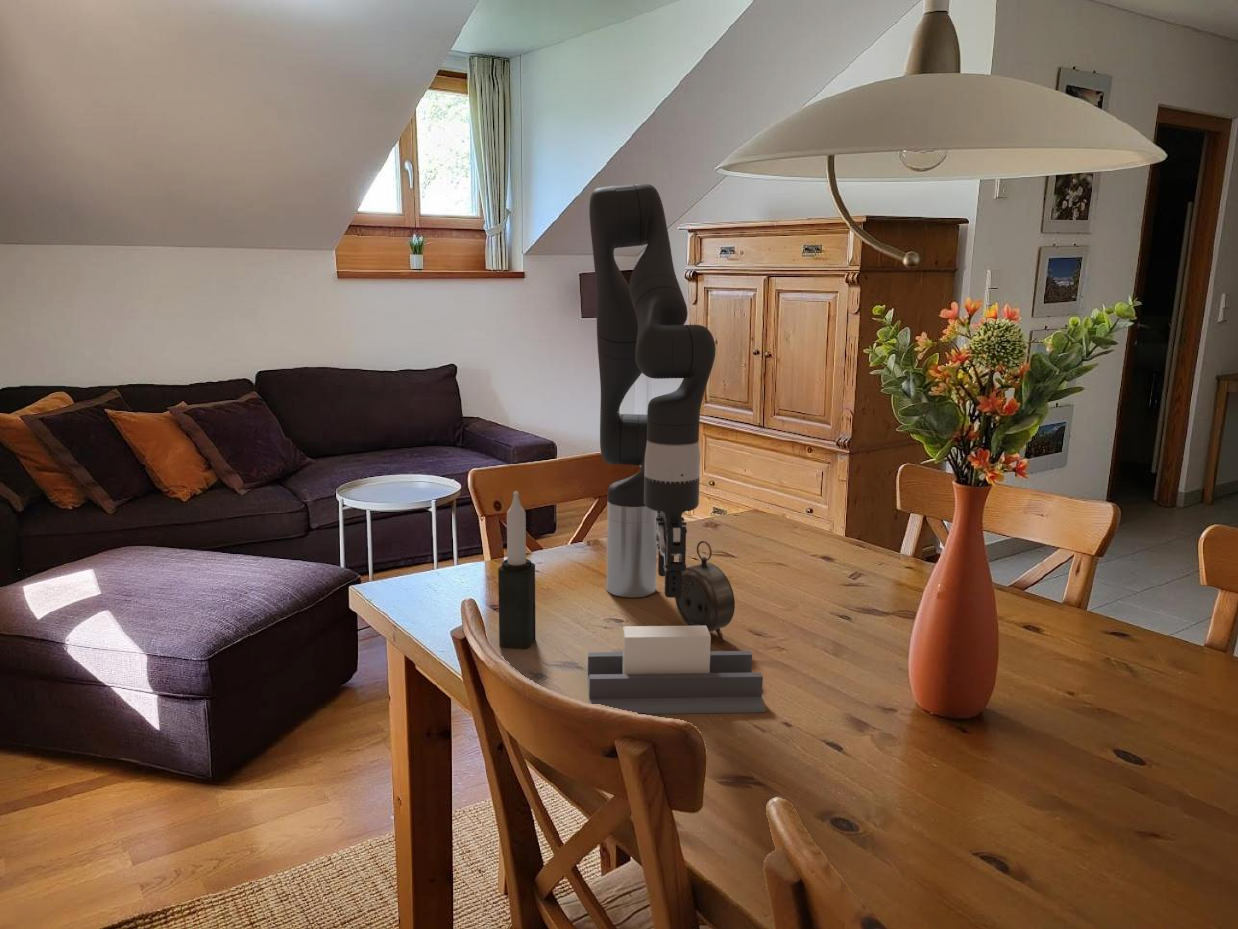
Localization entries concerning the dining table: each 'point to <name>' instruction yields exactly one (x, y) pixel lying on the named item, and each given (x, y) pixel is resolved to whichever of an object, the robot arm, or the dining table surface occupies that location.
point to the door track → (678, 686)
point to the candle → (516, 584)
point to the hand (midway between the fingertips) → (669, 585)
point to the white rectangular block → (666, 649)
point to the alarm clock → (706, 596)
